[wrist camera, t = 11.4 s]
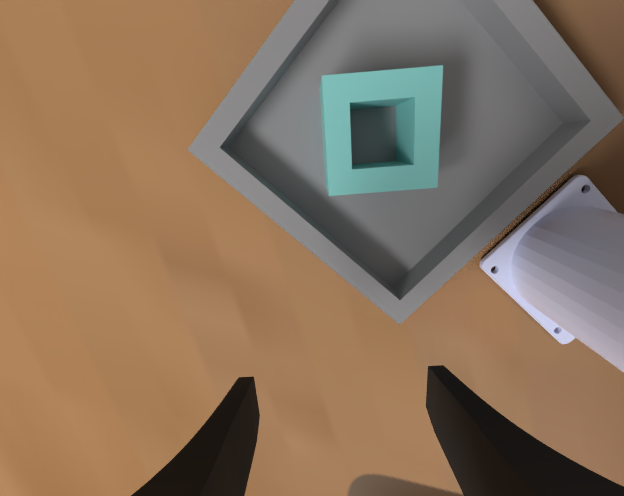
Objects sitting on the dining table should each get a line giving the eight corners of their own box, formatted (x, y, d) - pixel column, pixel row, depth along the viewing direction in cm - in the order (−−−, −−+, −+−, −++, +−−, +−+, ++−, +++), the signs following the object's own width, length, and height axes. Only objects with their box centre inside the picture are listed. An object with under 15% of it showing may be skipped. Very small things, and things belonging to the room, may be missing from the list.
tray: (584, 121, 19) (624, 118, 16) (390, 305, 22) (399, 324, 20) (393, -112, 15) (409, -159, 13) (202, 149, 19) (187, 149, 17)
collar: (417, 80, 17) (443, 65, 14) (415, 180, 19) (437, 187, 16) (319, 88, 18) (321, 75, 14) (325, 187, 19) (329, 196, 16)
